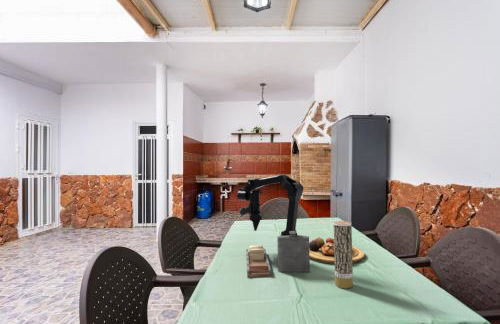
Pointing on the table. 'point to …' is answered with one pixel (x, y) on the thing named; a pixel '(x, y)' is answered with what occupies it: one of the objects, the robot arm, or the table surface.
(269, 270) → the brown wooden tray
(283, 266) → the flask
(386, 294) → the table surface
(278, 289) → the table surface
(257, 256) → the cream square block
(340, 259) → the tree log
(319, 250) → the wooden plate with food
